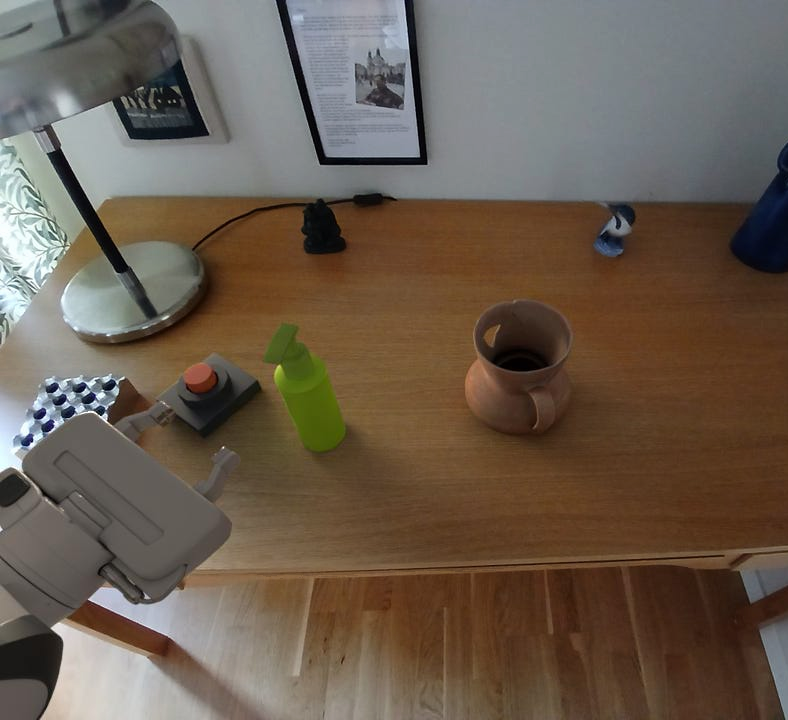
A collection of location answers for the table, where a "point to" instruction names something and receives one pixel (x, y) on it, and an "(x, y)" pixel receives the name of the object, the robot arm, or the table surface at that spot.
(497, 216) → the table surface
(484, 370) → the ceramic jug
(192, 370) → the button
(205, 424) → the red push button box
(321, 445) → the soap dispenser
